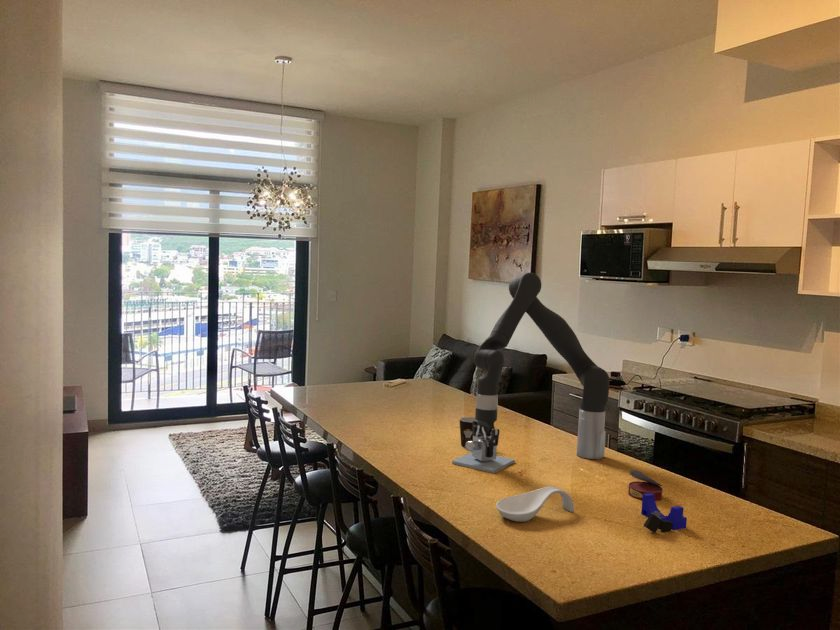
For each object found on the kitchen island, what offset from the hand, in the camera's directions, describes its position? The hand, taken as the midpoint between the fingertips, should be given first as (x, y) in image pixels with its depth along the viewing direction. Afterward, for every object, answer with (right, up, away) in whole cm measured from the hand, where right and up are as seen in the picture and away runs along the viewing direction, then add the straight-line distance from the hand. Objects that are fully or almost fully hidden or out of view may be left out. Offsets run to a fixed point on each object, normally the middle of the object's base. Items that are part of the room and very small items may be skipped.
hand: (484, 454), depth 231 cm
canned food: (+47, -7, -26) cm, 54 cm away
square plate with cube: (0, -3, 0) cm, 3 cm away
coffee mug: (-2, -2, +21) cm, 21 cm away
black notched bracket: (+40, -9, -54) cm, 68 cm away
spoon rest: (+10, -7, -46) cm, 48 cm away
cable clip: (+45, -9, -47) cm, 65 cm away
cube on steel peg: (-2, -1, -1) cm, 2 cm away
